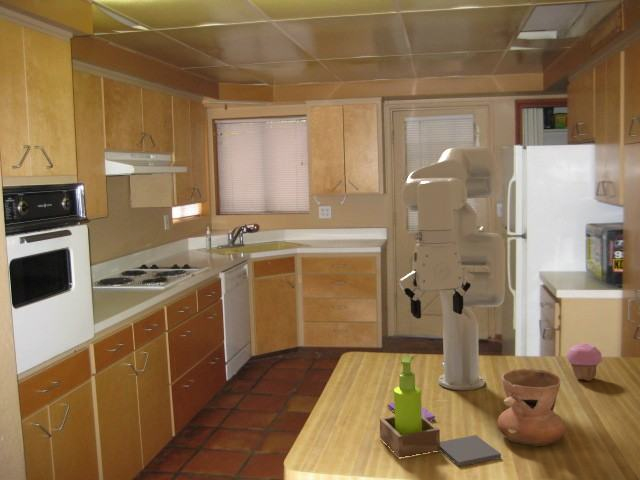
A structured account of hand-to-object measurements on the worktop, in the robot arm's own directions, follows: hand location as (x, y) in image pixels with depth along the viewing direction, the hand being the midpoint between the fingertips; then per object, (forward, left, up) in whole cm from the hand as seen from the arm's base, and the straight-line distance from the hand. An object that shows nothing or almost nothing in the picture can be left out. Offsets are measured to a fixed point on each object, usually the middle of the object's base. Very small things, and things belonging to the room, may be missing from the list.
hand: (437, 315), depth 144 cm
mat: (+7, +3, -29) cm, 30 cm away
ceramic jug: (+6, +20, -29) cm, 36 cm away
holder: (-1, -7, -29) cm, 30 cm away
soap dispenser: (-1, -7, -29) cm, 30 cm away
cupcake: (-20, +55, -29) cm, 65 cm away
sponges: (-17, +1, -30) cm, 34 cm away
